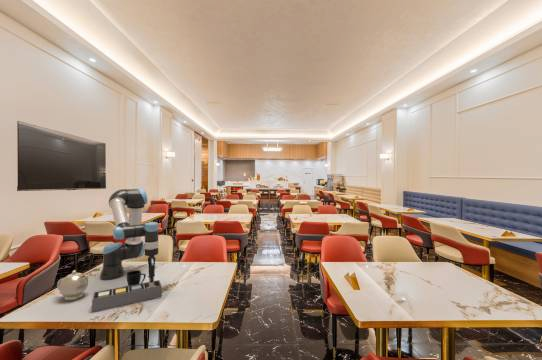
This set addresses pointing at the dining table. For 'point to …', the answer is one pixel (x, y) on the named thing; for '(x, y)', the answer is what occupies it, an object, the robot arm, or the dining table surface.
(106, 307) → the compartment tray
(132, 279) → the mug
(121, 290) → the key
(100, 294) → the key
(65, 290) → the teapot
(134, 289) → the key
